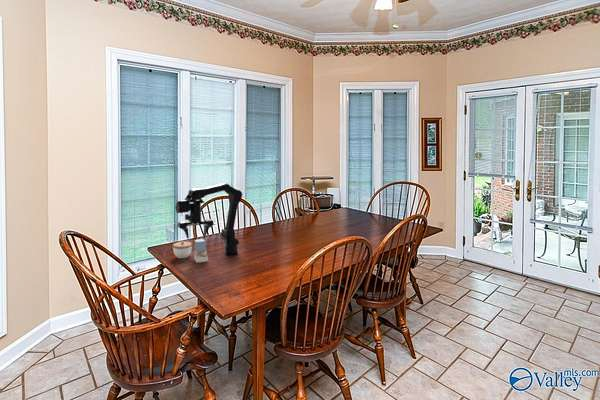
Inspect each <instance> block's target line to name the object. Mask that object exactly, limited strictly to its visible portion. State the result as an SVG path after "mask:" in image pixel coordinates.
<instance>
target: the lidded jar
mask: <svg viewBox="0 0 600 400" xmlns="http://www.w3.org/2000/svg"><path fill="white" fill-rule="evenodd" d="M172 249H173V251H172V252H173V253H174V255H175V256H176V257H177V258H178V259H181V258H183V259H187V258H189V256H190V255H191V254H192V249H193V243H192V242H190V241H179V242H175V243H173V244H172Z"/></svg>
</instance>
